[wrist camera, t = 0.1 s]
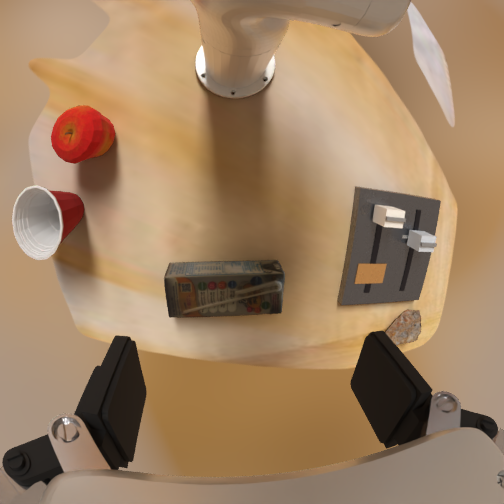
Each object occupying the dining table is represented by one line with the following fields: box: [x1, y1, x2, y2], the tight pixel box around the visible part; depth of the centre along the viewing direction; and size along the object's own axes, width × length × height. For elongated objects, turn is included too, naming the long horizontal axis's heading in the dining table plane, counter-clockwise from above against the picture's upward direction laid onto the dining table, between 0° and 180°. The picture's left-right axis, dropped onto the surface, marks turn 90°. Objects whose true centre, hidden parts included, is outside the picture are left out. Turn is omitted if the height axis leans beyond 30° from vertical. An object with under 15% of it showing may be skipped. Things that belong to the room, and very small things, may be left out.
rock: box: [385, 310, 421, 345], centre depth 56 cm, size 9×6×10 cm
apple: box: [51, 106, 115, 164], centre depth 33 cm, size 9×8×12 cm
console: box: [338, 187, 441, 305], centre depth 50 cm, size 22×20×2 cm
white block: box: [407, 230, 437, 252], centre depth 46 cm, size 3×4×4 cm
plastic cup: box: [12, 185, 84, 260], centre depth 36 cm, size 11×11×12 cm
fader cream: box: [373, 205, 406, 228], centre depth 43 cm, size 3×4×4 cm
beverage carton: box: [164, 260, 285, 317], centre depth 46 cm, size 8×19×7 cm, turn 89°
